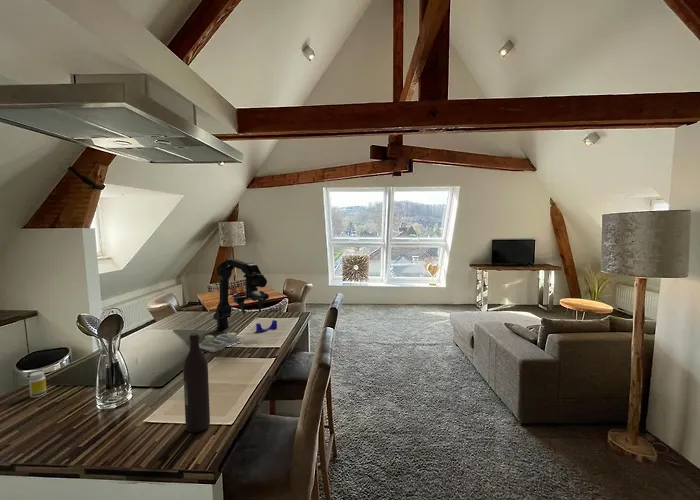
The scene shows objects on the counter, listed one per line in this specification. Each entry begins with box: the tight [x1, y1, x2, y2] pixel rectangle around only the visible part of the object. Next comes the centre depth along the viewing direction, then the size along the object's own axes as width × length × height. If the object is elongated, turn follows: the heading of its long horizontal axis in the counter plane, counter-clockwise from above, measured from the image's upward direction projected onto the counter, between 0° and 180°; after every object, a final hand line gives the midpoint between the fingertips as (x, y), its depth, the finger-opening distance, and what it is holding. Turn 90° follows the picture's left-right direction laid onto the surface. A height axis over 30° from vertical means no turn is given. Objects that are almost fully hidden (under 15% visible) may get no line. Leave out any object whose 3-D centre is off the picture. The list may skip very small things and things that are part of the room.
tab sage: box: [204, 334, 215, 343], centre depth 182 cm, size 4×3×4 cm, turn 60°
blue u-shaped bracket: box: [255, 319, 278, 334], centre depth 205 cm, size 12×4×6 cm, turn 130°
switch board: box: [199, 333, 245, 353], centre depth 184 cm, size 16×22×3 cm
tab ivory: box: [227, 331, 237, 340], centre depth 186 cm, size 4×3×4 cm, turn 60°
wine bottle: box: [182, 332, 211, 434], centre depth 107 cm, size 7×7×30 cm
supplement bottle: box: [28, 370, 48, 398], centre depth 130 cm, size 5×5×8 cm
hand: (252, 312), depth 192 cm, fingers open, 9 cm apart
